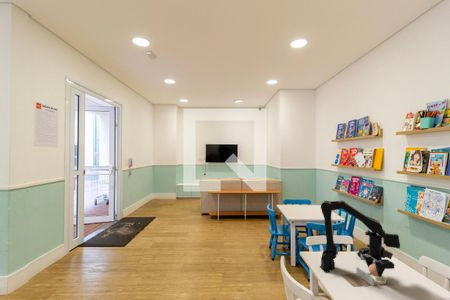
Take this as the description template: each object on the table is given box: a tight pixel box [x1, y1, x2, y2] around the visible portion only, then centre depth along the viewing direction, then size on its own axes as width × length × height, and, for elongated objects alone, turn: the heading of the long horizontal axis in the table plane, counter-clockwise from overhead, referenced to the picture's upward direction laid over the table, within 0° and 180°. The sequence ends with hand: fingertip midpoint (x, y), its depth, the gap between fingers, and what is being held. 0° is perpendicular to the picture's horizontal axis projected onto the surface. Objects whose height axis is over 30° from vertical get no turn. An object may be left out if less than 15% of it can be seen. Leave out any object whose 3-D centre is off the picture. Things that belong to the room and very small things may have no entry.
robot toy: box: [354, 250, 378, 264], centre depth 143 cm, size 12×4×15 cm
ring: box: [366, 271, 387, 284], centre depth 121 cm, size 9×9×1 cm
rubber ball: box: [368, 264, 379, 277], centre depth 121 cm, size 6×6×6 cm
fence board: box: [339, 266, 395, 288], centre depth 120 cm, size 22×12×4 cm, turn 95°
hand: (375, 273), depth 121 cm, fingers closed on rubber ball, 6 cm apart
